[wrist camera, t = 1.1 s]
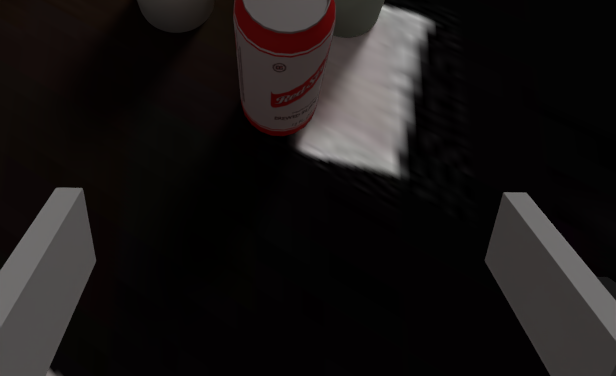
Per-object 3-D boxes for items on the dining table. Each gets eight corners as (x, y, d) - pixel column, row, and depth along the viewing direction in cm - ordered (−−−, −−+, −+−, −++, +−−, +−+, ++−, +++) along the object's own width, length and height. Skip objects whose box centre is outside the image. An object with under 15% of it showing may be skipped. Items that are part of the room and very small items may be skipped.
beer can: (330, 108, 46) (363, -3, 30) (276, 154, 44) (283, 62, 29) (280, 58, 47) (289, -74, 31) (226, 102, 45) (207, -14, 30)
